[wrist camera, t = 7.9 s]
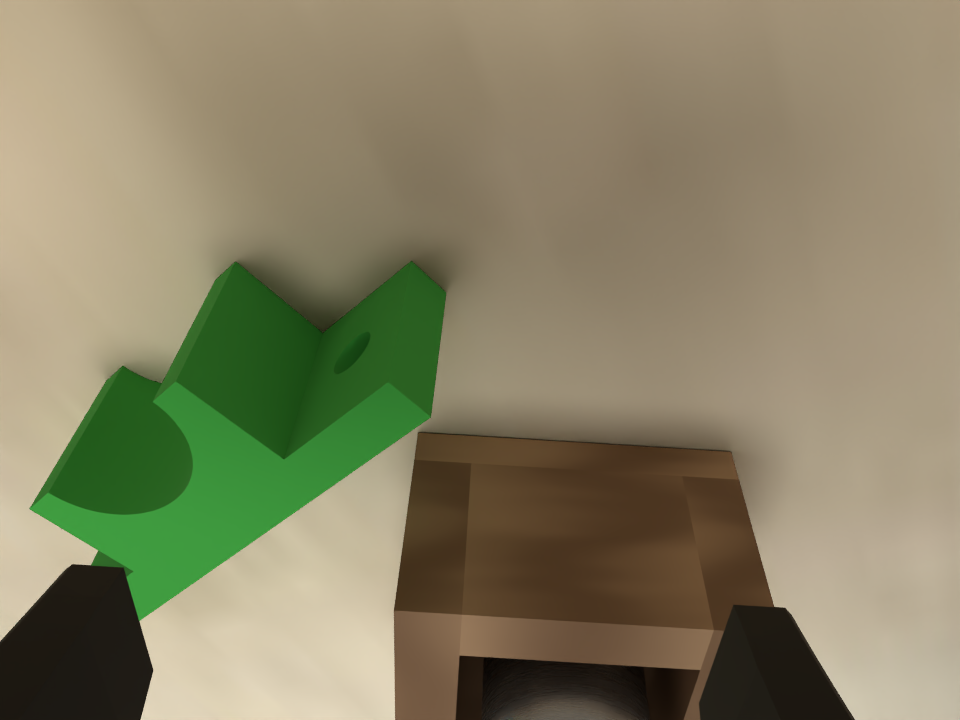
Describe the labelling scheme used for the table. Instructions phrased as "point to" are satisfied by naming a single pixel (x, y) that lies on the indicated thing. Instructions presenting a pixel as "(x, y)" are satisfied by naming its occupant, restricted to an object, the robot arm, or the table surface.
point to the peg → (562, 691)
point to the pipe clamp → (242, 427)
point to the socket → (567, 566)
